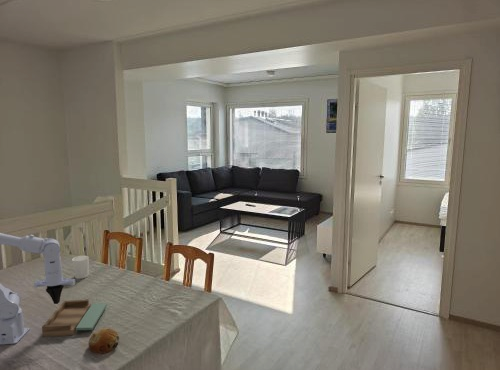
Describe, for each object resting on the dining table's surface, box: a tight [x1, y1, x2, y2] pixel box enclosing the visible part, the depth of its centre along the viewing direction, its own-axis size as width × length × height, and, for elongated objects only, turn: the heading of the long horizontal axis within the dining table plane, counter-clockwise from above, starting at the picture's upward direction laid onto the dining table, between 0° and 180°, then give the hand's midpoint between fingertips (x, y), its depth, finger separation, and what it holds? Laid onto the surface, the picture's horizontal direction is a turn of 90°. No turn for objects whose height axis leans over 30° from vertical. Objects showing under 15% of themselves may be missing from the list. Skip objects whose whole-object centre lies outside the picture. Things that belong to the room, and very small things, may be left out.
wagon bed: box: [41, 299, 92, 338], centre depth 140 cm, size 20×11×4 cm, turn 6°
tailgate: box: [76, 302, 108, 331], centre depth 141 cm, size 19×2×6 cm
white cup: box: [71, 255, 90, 280], centre depth 183 cm, size 8×8×10 cm
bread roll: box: [87, 327, 120, 355], centre depth 125 cm, size 10×10×8 cm
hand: (56, 302), depth 137 cm, fingers closed
